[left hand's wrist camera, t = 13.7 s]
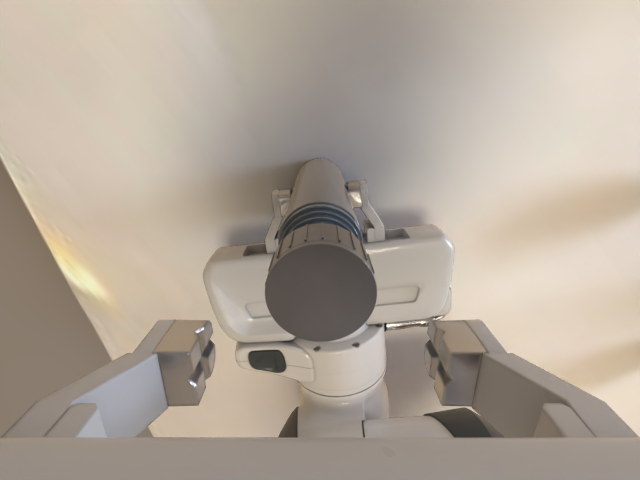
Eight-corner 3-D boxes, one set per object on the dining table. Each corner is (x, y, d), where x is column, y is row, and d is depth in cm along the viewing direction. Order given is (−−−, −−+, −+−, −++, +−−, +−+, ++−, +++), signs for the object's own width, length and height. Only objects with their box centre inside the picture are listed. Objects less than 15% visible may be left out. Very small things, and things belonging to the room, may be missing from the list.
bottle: (289, 194, 32) (247, 316, 13) (307, 150, 31) (288, 218, 12) (332, 211, 33) (349, 351, 14) (351, 169, 32) (398, 263, 13)
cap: (257, 291, 15) (247, 321, 13) (292, 205, 14) (287, 223, 12) (344, 322, 16) (348, 356, 14) (387, 244, 14) (399, 268, 12)
